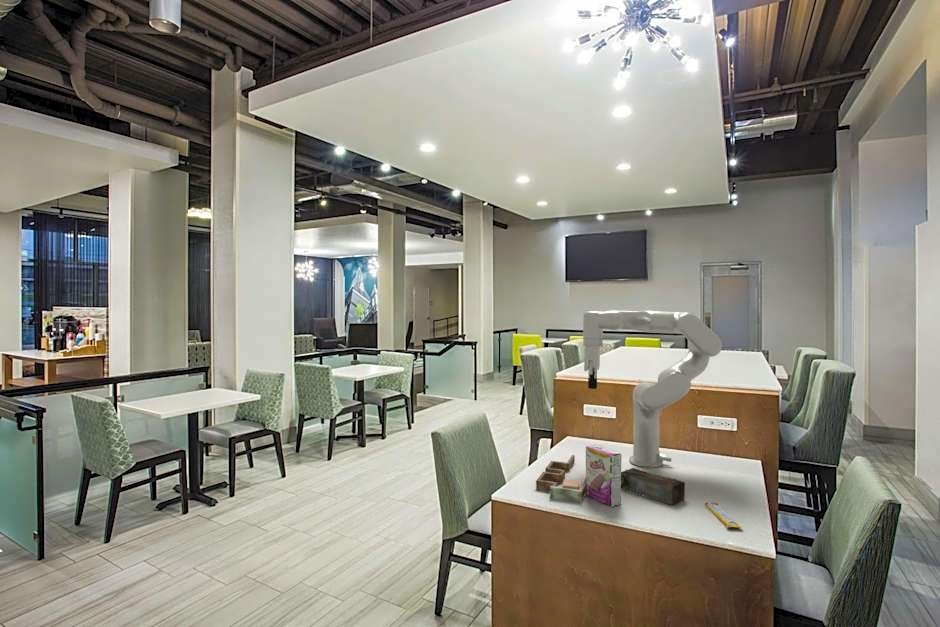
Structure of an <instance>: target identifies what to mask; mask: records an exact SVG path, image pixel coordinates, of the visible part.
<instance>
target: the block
mask: <svg viewBox="0 0 940 627" xmlns="http://www.w3.org/2000/svg"><path fill="white" fill-rule="evenodd" d="M562 488H568V489H575V490H580V480H578V479H571V478H570V479H568V478H567V479H566V478H565V479H564V481H563V483H562Z"/></svg>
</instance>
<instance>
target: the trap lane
mask: <svg viewBox="0 0 940 627" xmlns="http://www.w3.org/2000/svg"><path fill="white" fill-rule="evenodd" d="M575 456H576V455H575V454H572V455H571V456H570V458H569V459H568V461H567V462H565V461H564V462H563V461H556V460H551V461H550V462H549V463H548V464H547V466H546V467H545V471H542V472H541V474H540V475H539V476H538V478H537V479H536V481H535V482H536V484H535V486H536V487H535V489H536V490H537V491H538V490H539V491H545V492H549V498H550V499H553V498H554V499H553V500H559V499H560V501H566V500H568V501H567V502H572V501H574V503H579V502H581V503H583V500H584V498H583V497H585V496H586V477H585V478H584V481H583V482H582V484H581V486H580V487H579V490H575V489H568V488H563V487H562V486H561V487H559V484H561V483H562V484H563V482H564V479H566V473H567V471H569V472H570V471H571V470H572V468H573V466H574V465H575V463H574V462H575V461H576V460H575V459H576V458H575ZM573 464H574V465H573ZM570 469H571V470H570ZM584 495H585V496H584Z"/></svg>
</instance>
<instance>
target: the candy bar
mask: <svg viewBox="0 0 940 627" xmlns="http://www.w3.org/2000/svg"><path fill="white" fill-rule="evenodd" d="M704 505H705V507H706V508H707V510H709V511H710V512H711V514H712V515H714V516H715V517H716V519H718V520H719V521H720V522H721V524H722V525H724V526H725V527H726V528H729V529H730V528H732V527H733V528H735V529H742V527H741V525H740V524H739V523H738V522H736V521H735V519H733V518H732V517H731V516H730V515H729V514H728V513H726V512H725V510H723V509H722V508H721V507H720V506H719V503H717V502H710V503H709V502H705V503H704Z"/></svg>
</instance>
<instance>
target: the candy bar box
mask: <svg viewBox="0 0 940 627" xmlns="http://www.w3.org/2000/svg"><path fill="white" fill-rule="evenodd" d="M621 472H622V453H621V452H619V451H615V450H612V449H609V448H607V447H605V446H602V445H598V444H591V445H587V446H585V478H586V493H585V496H586V495H587V497H589V498H591V499H593V500H595V499H596V500H595V501H597V500H598V501H597V502H599V501H600V503H602V502H603V503H602V504H604V503H605V504H604V505H606V504H607V505H606V506H608V505H609V506H608V507H610V506H613V505H616V506H618V505H617V504H619V505H621V504H622V489H621ZM620 503H621V504H620ZM613 507H614V506H613Z"/></svg>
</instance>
